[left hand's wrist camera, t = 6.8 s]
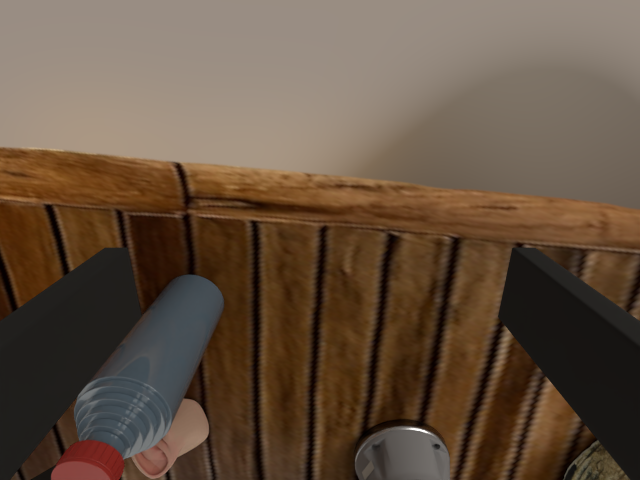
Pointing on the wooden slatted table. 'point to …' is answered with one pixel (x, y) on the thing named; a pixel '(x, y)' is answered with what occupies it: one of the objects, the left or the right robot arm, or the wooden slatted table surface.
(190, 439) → the anatomical model
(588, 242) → the wooden slatted table surface
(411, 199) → the wooden slatted table surface
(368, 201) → the wooden slatted table surface
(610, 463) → the fossil
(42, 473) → the right robot arm
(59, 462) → the cap
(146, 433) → the bottle
